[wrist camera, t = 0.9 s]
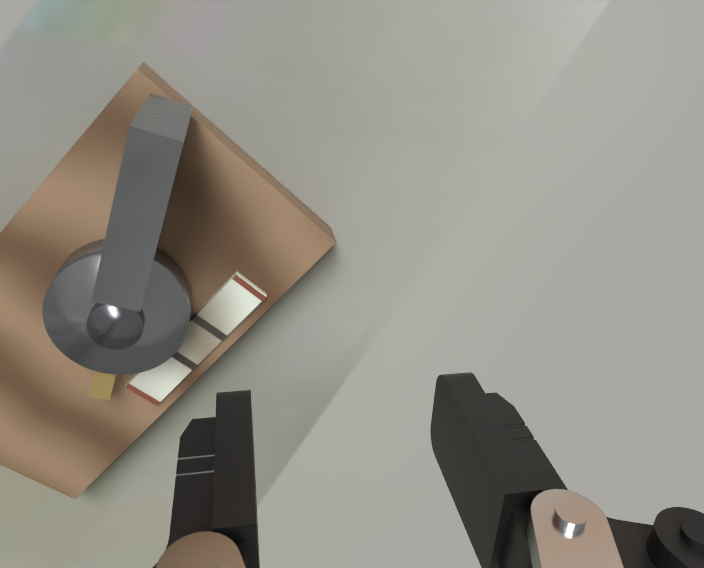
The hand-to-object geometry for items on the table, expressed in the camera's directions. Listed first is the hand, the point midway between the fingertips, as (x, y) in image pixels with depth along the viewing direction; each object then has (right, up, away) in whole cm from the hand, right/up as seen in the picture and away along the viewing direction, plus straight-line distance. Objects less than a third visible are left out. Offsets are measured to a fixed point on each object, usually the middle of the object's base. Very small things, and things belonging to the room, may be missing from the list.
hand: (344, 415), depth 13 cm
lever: (-10, +4, +15) cm, 19 cm away
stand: (-13, +2, +19) cm, 23 cm away
